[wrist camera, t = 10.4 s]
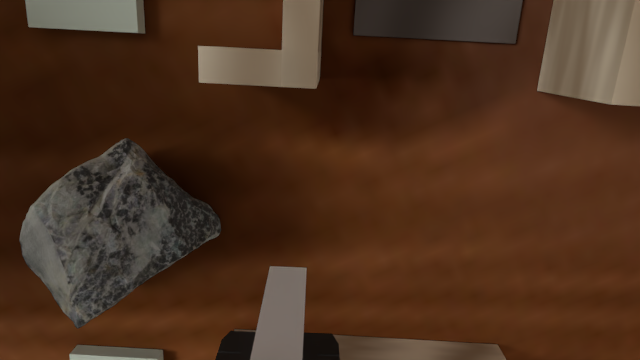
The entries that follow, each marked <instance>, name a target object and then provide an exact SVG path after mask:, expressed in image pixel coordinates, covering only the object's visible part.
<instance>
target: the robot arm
mask: <svg viewBox="0 0 640 360" xmlns="http://www.w3.org/2000/svg"><path fill="white" fill-rule="evenodd" d="M306 270H307V268H303V267H279V266H270V268H269V273H268V278H267V282H266V287H265V292H264V297H263V301H262V306H261V311H260V315H259V320H258V325H257V329H256V332H247V331H230V332H229V333H228V334H227V335H226V336H225V337H224V338H223V339H222V341H221V344H220V347H219V350H218V353H217V356H216V359H215V360H340V357H339V343H338V342H337V340H336V339H335V337H334V336H333V334H324V333H304V314H305V292H306Z"/></svg>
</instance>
